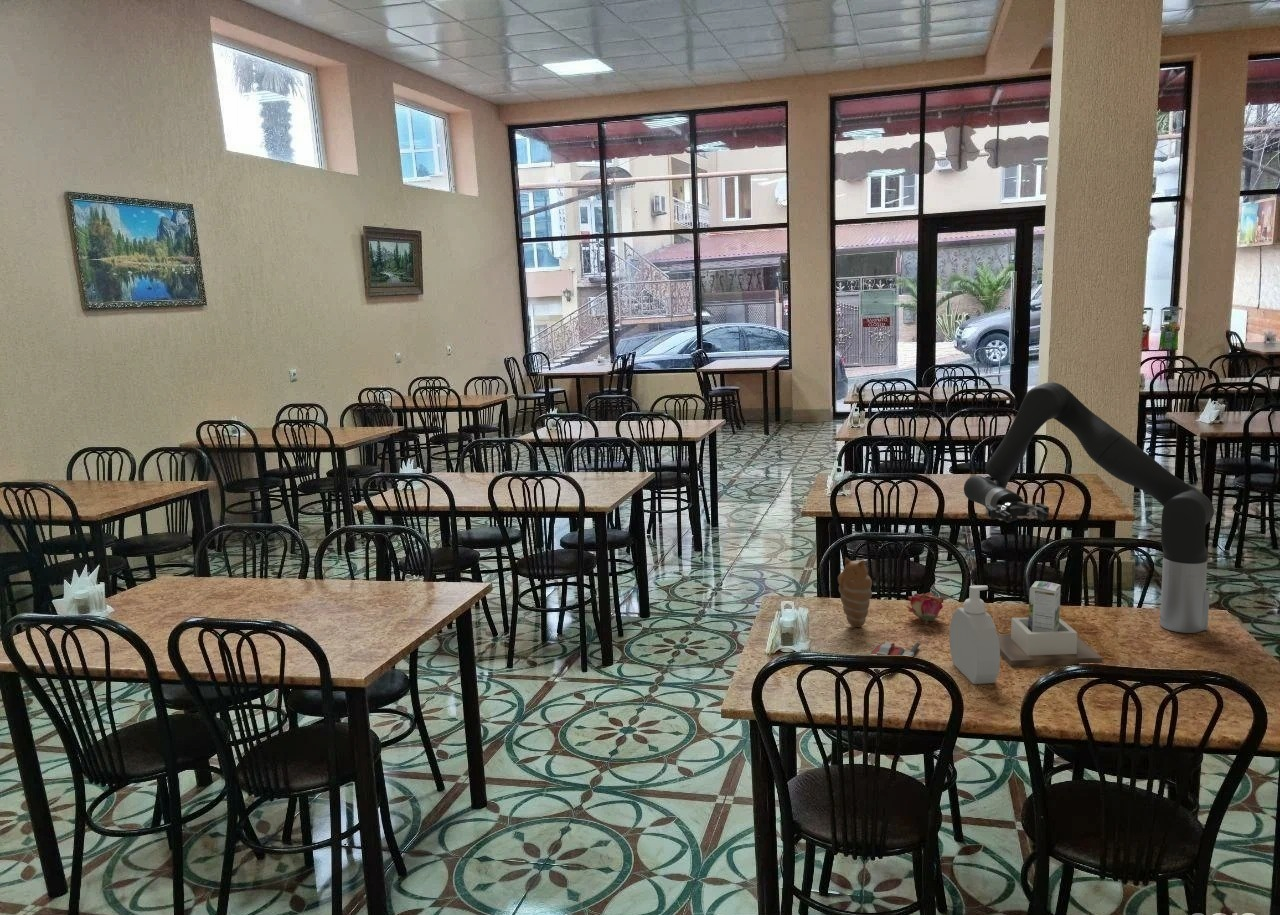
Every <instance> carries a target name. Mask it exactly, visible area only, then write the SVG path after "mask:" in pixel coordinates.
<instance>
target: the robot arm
mask: <svg viewBox="0 0 1280 915" xmlns="http://www.w3.org/2000/svg"><path fill="white" fill-rule="evenodd" d="M1020 404H1021V405H1020V407H1019V409H1018V410H1017V411H1018V412H1016V416H1015V418H1014V420H1013V422H1012V424H1011V425H1010V428H1009V429H1008V431H1007V432H1006V434H1005V436H1004V438H1003V439H1002V440H1001V442H1000V443H999V445H998V447H997V448H996V449H995V451H994V452H993V454H992V455H991V457H990V458H989V460H988V461H987V462H986V464H985V472H986V473H987V475H988V476H990V477H991V478H992V479H993V480H992V479H990V478H986V477H984V476H982V475H977V474H976V475H972V476H970V477H968V478H967V479H966V480H965V482H964V485H963V493H964V495H965V497H966V498H967V499H968V500H970V501H972V502H974V503H977V504H979V505H981V506H983V507H985V516H986V517H987V518H989V520H993V521H994V520H995V521H996V519H998V521H1004V522H1006V523H1007V524H1008V523H1009V524H1010V523H1011V522H1013V521H1017V520H1018V519H1022V518H1024V519H1025V518H1026V519H1030V520H1031V519H1034V518H1035V519H1038V520H1040V521H1042V522H1047V520H1048V518H1050V507H1049V506H1047V505H1045V504H1043V503H1040V502H1036V503H1035V504H1032V503H1026V502H1025V501H1024V499H1023V497H1022V496H1021V495H1019V494H1017V493H1016V492H1014V491H1012V490H1011V489H1009V488H1007V486H1008V483H1009V481H1010V478H1011V476H1012V475H1013V474H1014V473H1015V471H1016V469H1017V468H1018V466H1019V465H1020V464H1021V462H1022V460H1023V458H1024V457H1025V454H1026V452H1027V450H1028V447H1029V444H1030V442H1031V440H1032V439H1033V436H1034V435H1035V434H1036V433H1037V432H1038V430H1039V429H1041V427H1043V425H1044V424H1046V423H1047V422H1048V421H1049V420H1052V419H1054V420H1055V421H1057V422H1058V423H1060V424H1061V425H1062V426H1065V428H1067V429H1068V430H1069V431H1070V432H1072V433H1073V435H1075V437H1076V439H1077V440H1078V442H1079V443H1080V445H1081V446H1082V448H1083V450H1084V451H1085V453H1086V454H1087V455H1088V457H1089V458H1090V459H1091V460H1092V461H1093V462H1094V463H1095V464H1097V465H1098V466H1099V467H1101V468H1102V469H1103V470H1105V471H1106V472H1107V473H1108V474H1110V475H1111V476H1113V477H1114V478H1116V479H1118V480H1119V481H1121V482H1123V483H1126V484H1128V485H1130V486H1132V487H1135V488H1137V489H1139V490H1141V491H1143V492H1145V493H1146V494H1147V495H1150V496H1151V497H1152V498H1153V499H1154V500H1156V501H1157V502H1158V503H1159V504H1161V505H1162V508H1163V509H1162V513H1161V527H1160V528H1161V530H1160V531H1161V534H1160V535H1161V536H1160V540H1161V542H1160V543H1161V548H1162V553H1163V555H1162V575H1161V576H1162V577H1161V591H1160V592H1161V594H1160V596H1161V597H1160V614H1159V626H1160V627H1162V628H1163V629H1165V630H1168V631H1172V632H1176V633H1183V634H1196V633H1201V632H1203V631H1208V626H1209V610H1210V609H1209V607H1210V594H1211V593H1210V592H1209V591H1208V590H1207V577H1208V576H1207V574H1208V561H1209V560H1208V559H1209V558H1208V557H1209V551H1208V550H1209V549H1208V548H1207V547H1206V526H1207V524H1209V523H1210V522H1211V520H1213V517H1214V514H1215V509H1214V505H1213V503H1212V500H1210V498H1209V497H1208V496H1206V494H1204V493H1203V492H1201V491H1199V489H1197V488H1195V487H1193V486H1192V485H1190V484H1189V483H1187V482H1185V481H1183V480H1182V479H1180V478H1179V477H1177V476H1176V475H1174V474H1172V472H1170V471H1169V470H1167V469H1166V468H1165V467H1163V466H1162V465H1161V463H1160V462H1158V461H1156V460H1155V459H1154V458H1153V457H1152V456H1150V455H1149V453H1148V454H1147V453H1146V452H1145V451H1143V449H1142V448H1140V447H1139V446H1138V445H1137V444H1136V443H1134V442H1133V441H1132V440H1130V439H1129V438H1128V437H1126V436H1125V435H1124V434H1123V433H1121V432H1119V431H1118V430H1117V429H1115V428H1114V427H1112V425H1110V424H1108V423H1107V422H1106V421H1105V420H1103V419H1102V418H1101V417H1100V416H1098V415H1097V414H1095V413H1094V412H1093V411H1091V410H1090V409H1089V408H1088V407H1087V406H1085V405H1084V403H1083V402H1082V401H1081V400H1079V399H1078V398H1077V397H1076V396H1075V395H1074V394H1073V393H1072V392H1071V391H1070V390H1069V389H1067V387H1066V386H1064V385H1062V384H1061V383H1058V382H1055V381H1052V382H1051V381H1050V382H1044V383H1042V384H1039V385H1036V386H1034V387H1032V388H1031V389H1029V390H1028V391H1027V392H1026V394H1025V396H1024V397H1023V400H1022V402H1021V403H1020Z"/></svg>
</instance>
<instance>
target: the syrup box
mask: <svg viewBox="0 0 1280 915" xmlns="http://www.w3.org/2000/svg"><path fill="white" fill-rule="evenodd" d="M1061 586H1062V584H1058V583H1055V582H1049V581H1043V580H1042V581H1041V580H1040V581H1039V580H1038V581H1037V580H1036V581H1034V583H1033V584H1032V585H1031V587H1030V588H1029V601H1028V616H1027V617H1028V629H1029V630H1030V631H1031V632H1056V631H1059V618H1060V614H1061V613H1060V609H1061Z"/></svg>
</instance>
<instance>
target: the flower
mask: <svg viewBox="0 0 1280 915" xmlns="http://www.w3.org/2000/svg"><path fill="white" fill-rule="evenodd" d="M907 598H908V601H909V604H910V605H911V606H910V605H906V608H907V609H908V612H910V613H912V614H913V615H915V616H916V617H917V618H918V619H920V620H924V625H925V626H928V625H929V621H930V622H932V621H937V619H939V618H940V617H941V615H940V616H938V615H939V613H940V612H941V610H942V609H943V607H944V606H943V603H944V597H943V596H940V597H937V596H935V595H934V593H932V592H931V591H929V592H927V593H924V592H923V593H919V594H918V593H915V594H913V595H911V596H910V595H908V596H907ZM945 615H946V614H943V616H945Z"/></svg>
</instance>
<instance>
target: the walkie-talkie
mask: <svg viewBox="0 0 1280 915" xmlns="http://www.w3.org/2000/svg"><path fill="white" fill-rule="evenodd" d="M920 645H921V644H920V642H919V641H918V642H915V644H914V645H913V646H912V648H911V649H910V650H909V651H907V650H906V649H905V648H903V647H901V646H895V643H894V642H891V641H890V642H889V641H883V643H882V644H878V645H876V646H875V647H874V648H873V650H871V652H870V654H877V655H908V656H914V657H915V653H916V651H917V650H918V648H919V646H920ZM870 654H869V655H870ZM874 671H875V672H876V673H879V672H880V670H878V669H874ZM876 673H875V674H876ZM893 675H894V673H891V674H889V675H887V676H889V677H890V676H893Z"/></svg>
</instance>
